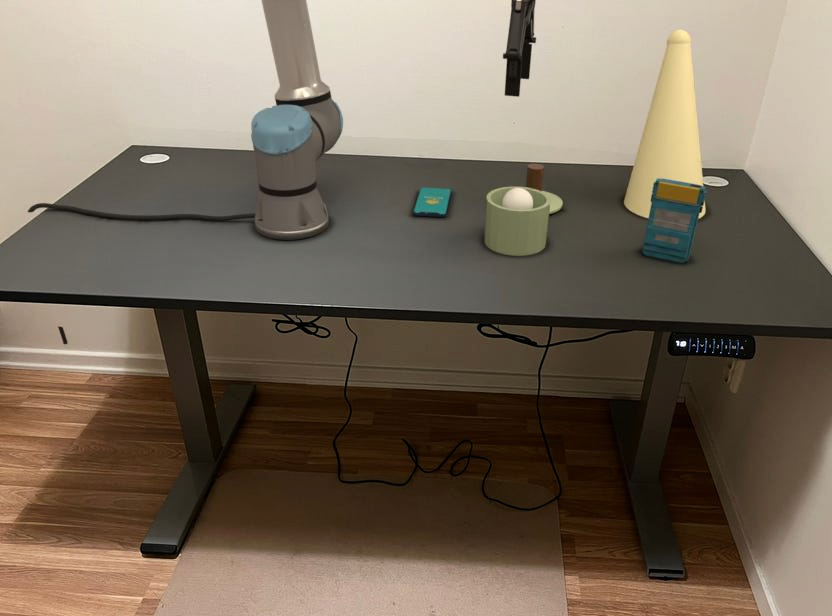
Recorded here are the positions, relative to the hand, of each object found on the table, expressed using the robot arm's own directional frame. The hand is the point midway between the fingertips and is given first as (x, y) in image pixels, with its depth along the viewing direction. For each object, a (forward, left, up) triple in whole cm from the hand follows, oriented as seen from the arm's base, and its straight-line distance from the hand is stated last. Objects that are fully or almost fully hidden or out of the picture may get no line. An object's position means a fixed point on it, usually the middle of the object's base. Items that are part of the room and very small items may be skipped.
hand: (517, 86), depth 140 cm
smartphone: (-18, +5, -28) cm, 34 cm away
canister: (+3, -10, -28) cm, 30 cm away
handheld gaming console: (+33, -9, -29) cm, 44 cm away
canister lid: (+4, +10, -28) cm, 30 cm away
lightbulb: (+3, -10, -28) cm, 30 cm away
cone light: (+33, +21, -29) cm, 49 cm away
